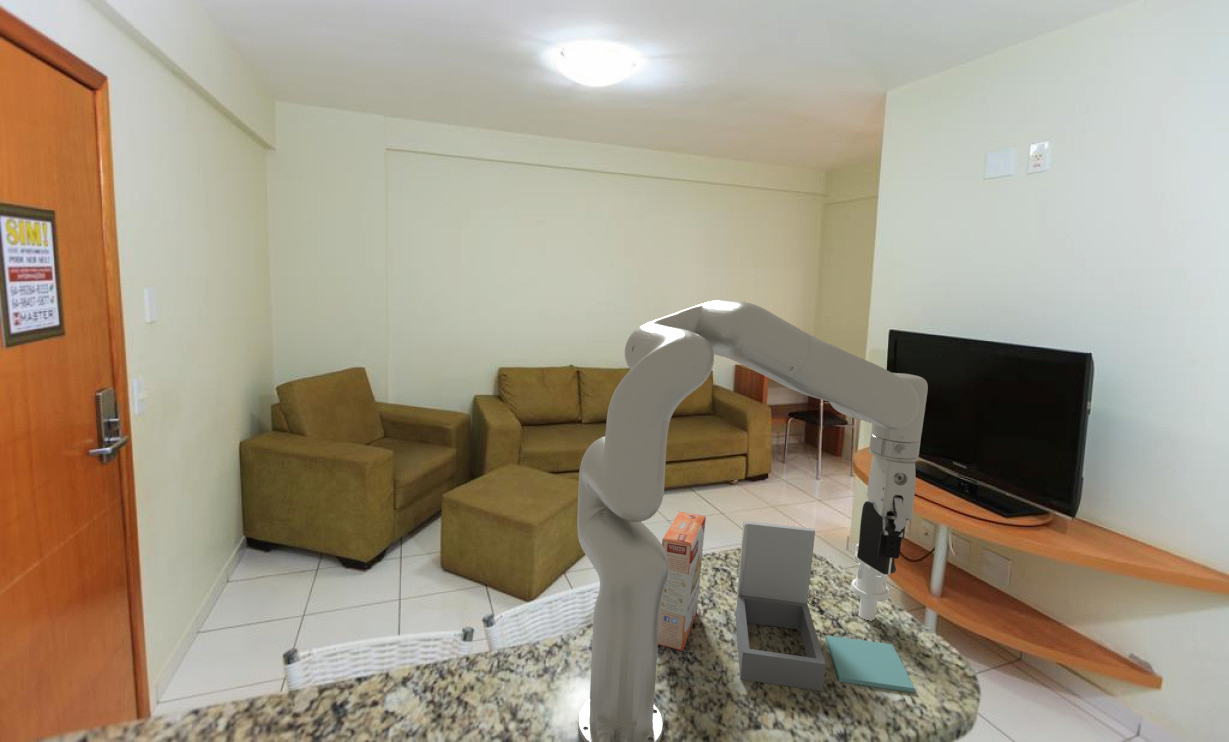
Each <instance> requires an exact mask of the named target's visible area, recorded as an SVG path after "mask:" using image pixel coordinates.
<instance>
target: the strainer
mask: <svg viewBox="0 0 1229 742" xmlns="http://www.w3.org/2000/svg"><path fill="white" fill-rule="evenodd" d="M858 546H859V542H858V543H856V545H855V551H854V552H855V554H854V562H855V563H857V564H858V565H857V572H856V578H854V579H852V581H851V587H850V588H851V591H852V592H853V593H854V594H855V595H856V596H858V597H860V601H859V610H858V617H859V616H860V617H861V619H862V618H863V619H862V620H864V619H865V620H864V621H867V620H869V621H868V622H873V621H872V620H874V619H875V620H876V611H877V605H878V602H885V601H887V600H889V598H890V589H889V587H888V586H887V582H888V575H885V574H883V573H881V572H879V571H877V570H876V569H874V568H872V567H871V566H869V565H867V564H866V563H864V562H863V561H862V560H860V559H859V558H858V557H857V554H858ZM860 617H859V618H860ZM875 620H874V621H875Z"/></svg>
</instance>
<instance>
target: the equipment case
mask: <svg viewBox="0 0 1229 742" xmlns="http://www.w3.org/2000/svg"><path fill="white" fill-rule="evenodd" d="M741 533H742V536H741V546H740V547H741V548H740V557H739V570H738V581H737V596H736V598H737V599H736V607H735V625H736V627H735V628H736V638H737V652H738V666H739V669H738V670H739V679H740V680H745V681H751V682H756V683H763V684H771V685H777V686H785V687H791V688H797V689H803V690H810V691H816V692H824V691H823V690H824V685H825V684H824V682H825V676H826V675H825V674H826V666H827V663H826V661H825V660H826V659H825V657H824V655H823V651H822V647H821V644H820V641H819V637H818V634H817V631H816V627H815V625H814V621H813V618H812V615H811V610H810V608H809V605H808V604H809V603H808V601H809V591H810V584H811V583H810V581H811V574H812V564H813V554H814V548H815V547H814V545H815V538H816V537H815V536H816V530H815V528H810V527H803V526H802V527H801V526H792V525H784V524H775V523H767V522H766V523H765V522H756V521H749V520H746V521H745V520H744V521H743V524H742V532H741ZM748 623H749V624H756V625H764V626H769V627H770V626H771V627H779V628H785V629H793V630H799V632H800V633H799V634H800V637H801V641H802V644H803V649H804V652H805V656H801V655H796V654H795V655H794V654H787V653H780V652H773V651H766V650H762V649H761V650H759V649H752V648H750V641H749V632H748Z"/></svg>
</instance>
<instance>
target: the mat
mask: <svg viewBox="0 0 1229 742" xmlns="http://www.w3.org/2000/svg"><path fill="white" fill-rule="evenodd" d="M825 642H826V646H827V649H828V651H829V654H830V657H831V660H832V664H833V666H834V669H835V673H836V676H837V679H838V682H839V683H845V684H846V683H847V684H853V685H860V686H867V687H873V688H874V687H875V688H879V689H880V688H881V689H887V690H894V691H899V690H900V692H908V693H913V694H914V693H915V690H916V687H915V686H914V684H913V682H912V680H911V678H910V677H909V674H908V672H907V669H906V668H905V666H904V664H903V662H902V660H901V658H900V657H899V654H898V653H897V650H896V649H895V647H894V645H893V643H885V642H884V643H883V642H879V641H878V642H876V641H870V640H865V639H864V640H863V639H855V638H848V637H841V636H834V635H828V634H827V635H825Z"/></svg>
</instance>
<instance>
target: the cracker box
mask: <svg viewBox="0 0 1229 742" xmlns="http://www.w3.org/2000/svg"><path fill="white" fill-rule="evenodd" d="M706 519H707V517H706V516H705V515H702V514H701V515H700V514H695V513H690V512H689V513H688V512H685V511H678V512H677V514H676V516H675V517H674V518H673V520H672V522H671V523H670V525H669V527H668V528H667V530H666V532H665V534H664V536H663V537H662V540H661V541H662V542H661V544H662V546H663V548H664V550H665V552H666V555H667V558H668V564H669V570H668V578H667V582H666V585H665V589H664V593H663V597H662V602H661V608H660V617H659V630H658V646H663V647H666V648H670V649H674V650H677V651H682V652H684V649H685V647H686V644H687V641H688V638H689V635H690V632H691V630H692V626H693V624H694V621H695V618H696V615H697V614H698V613H697V612H698V605H699V593H700V583H701V572H702V563H703V562H702V561H703V560H702V559H703V548H704V540H705V527H706Z"/></svg>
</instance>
